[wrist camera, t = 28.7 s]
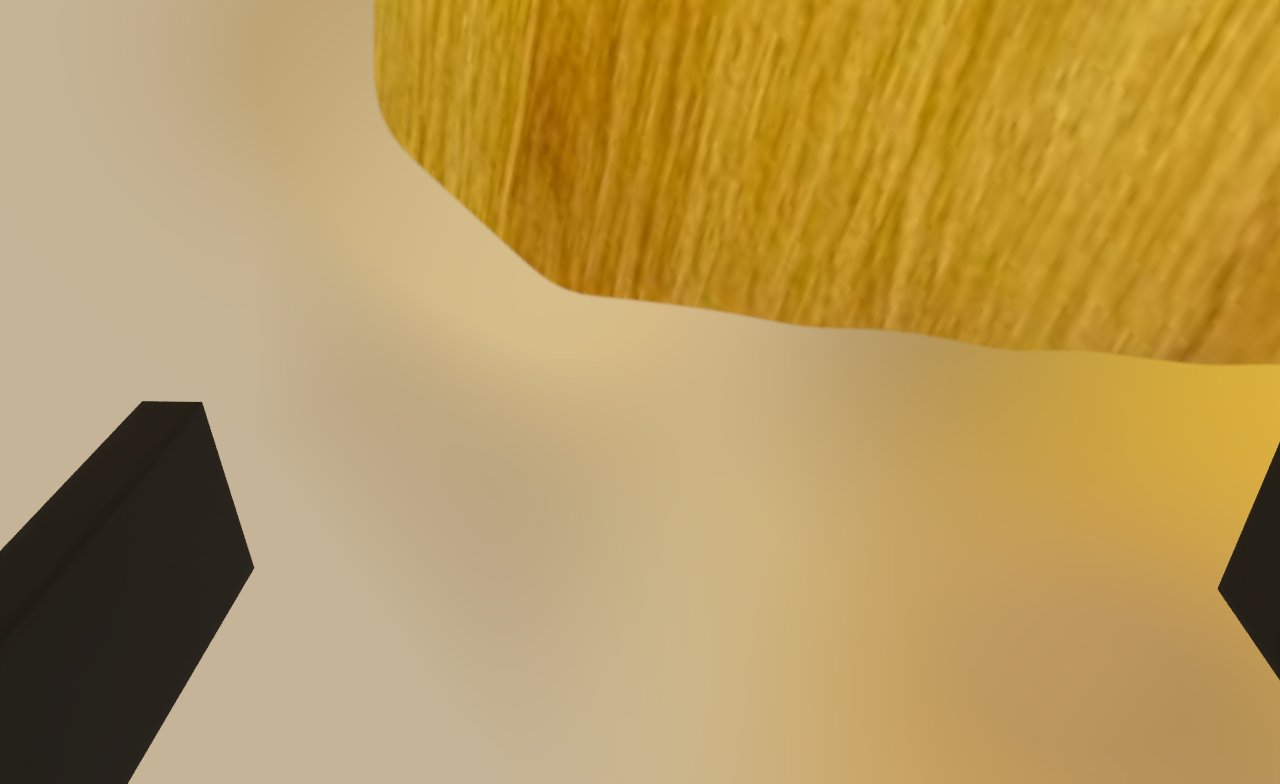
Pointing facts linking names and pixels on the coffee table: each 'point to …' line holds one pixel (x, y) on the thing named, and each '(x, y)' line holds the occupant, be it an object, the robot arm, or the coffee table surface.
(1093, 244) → the coffee table surface
